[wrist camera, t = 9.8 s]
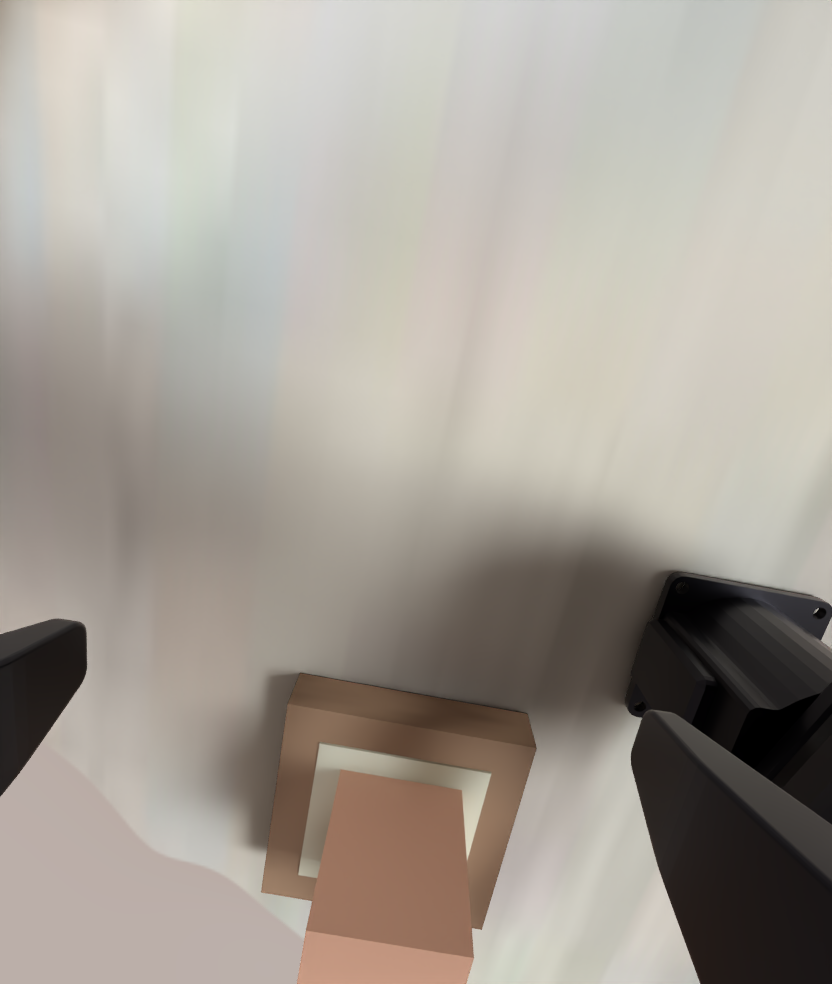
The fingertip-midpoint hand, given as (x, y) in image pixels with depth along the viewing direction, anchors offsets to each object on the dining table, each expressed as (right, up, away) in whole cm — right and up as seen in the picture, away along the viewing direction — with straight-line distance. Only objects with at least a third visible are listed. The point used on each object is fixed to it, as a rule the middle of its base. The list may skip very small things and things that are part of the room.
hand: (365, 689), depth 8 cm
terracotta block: (0, -11, +13) cm, 17 cm away
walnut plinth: (0, -10, +15) cm, 18 cm away
